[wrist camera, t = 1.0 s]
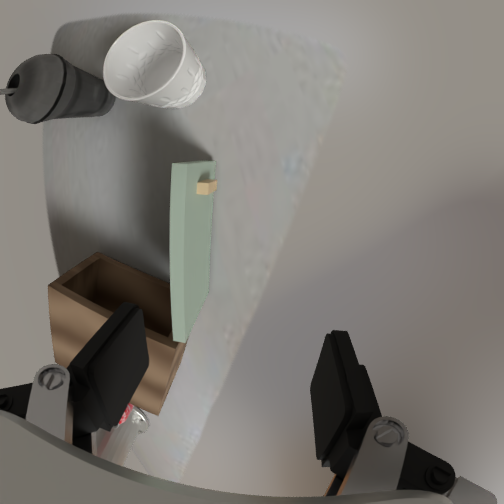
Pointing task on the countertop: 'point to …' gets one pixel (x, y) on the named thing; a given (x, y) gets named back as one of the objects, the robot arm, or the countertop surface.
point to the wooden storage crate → (103, 306)
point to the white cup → (154, 66)
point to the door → (190, 241)
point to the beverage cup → (55, 91)
